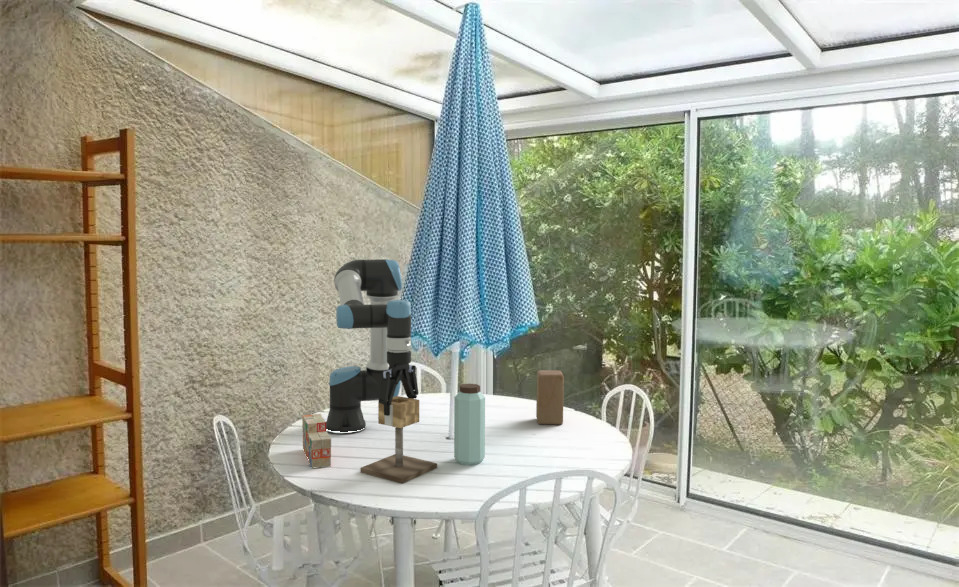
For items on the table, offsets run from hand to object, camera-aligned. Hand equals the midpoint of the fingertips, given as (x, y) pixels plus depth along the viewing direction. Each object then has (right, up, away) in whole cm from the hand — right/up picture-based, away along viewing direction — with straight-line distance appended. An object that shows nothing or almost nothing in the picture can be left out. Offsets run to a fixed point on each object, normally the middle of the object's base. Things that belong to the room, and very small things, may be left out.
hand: (399, 421), depth 213 cm
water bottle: (+22, -15, +11) cm, 29 cm away
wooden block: (+53, -11, +59) cm, 80 cm away
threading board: (0, -15, +1) cm, 15 cm away
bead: (0, 0, 0) cm, 0 cm away
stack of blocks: (-29, -15, +13) cm, 35 cm away
